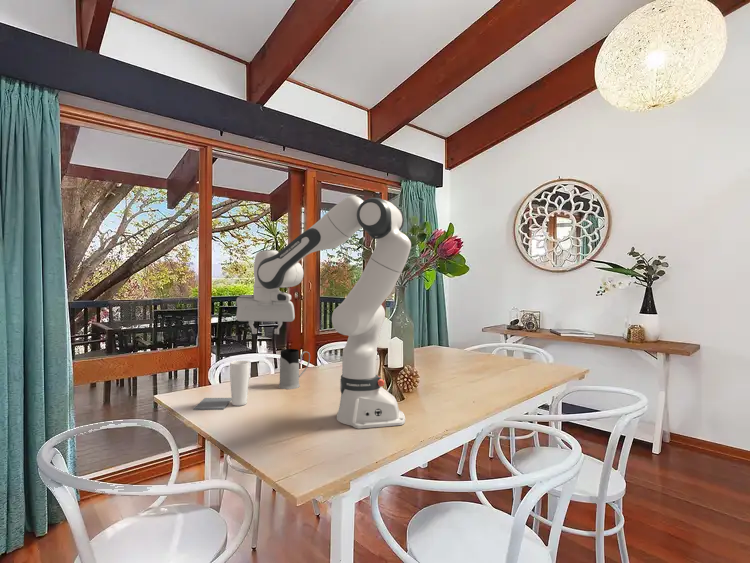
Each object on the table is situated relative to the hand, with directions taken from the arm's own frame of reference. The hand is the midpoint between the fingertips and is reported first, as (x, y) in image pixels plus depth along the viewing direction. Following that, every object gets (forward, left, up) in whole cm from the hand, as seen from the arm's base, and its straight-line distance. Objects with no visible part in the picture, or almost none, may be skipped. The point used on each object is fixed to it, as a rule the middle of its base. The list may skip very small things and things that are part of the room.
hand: (265, 333), depth 151 cm
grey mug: (-8, -25, -26) cm, 37 cm away
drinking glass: (+9, 0, -26) cm, 27 cm away
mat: (+18, 0, -25) cm, 31 cm away
